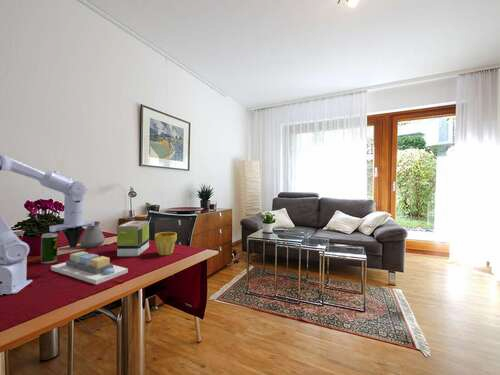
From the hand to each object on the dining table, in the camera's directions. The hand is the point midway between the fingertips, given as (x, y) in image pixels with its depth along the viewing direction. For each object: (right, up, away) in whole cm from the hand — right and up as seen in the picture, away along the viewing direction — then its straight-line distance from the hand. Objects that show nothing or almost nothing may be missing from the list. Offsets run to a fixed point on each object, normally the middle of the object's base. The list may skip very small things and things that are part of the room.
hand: (73, 247), depth 87 cm
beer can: (-18, -9, +9) cm, 22 cm away
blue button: (+6, -7, 0) cm, 9 cm away
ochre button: (+12, -7, -2) cm, 14 cm away
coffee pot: (-14, -9, +31) cm, 35 cm away
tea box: (+10, -10, +26) cm, 30 cm away
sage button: (0, -6, +3) cm, 7 cm away
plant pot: (+26, -10, +25) cm, 38 cm away
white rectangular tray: (+6, -10, 0) cm, 11 cm away
